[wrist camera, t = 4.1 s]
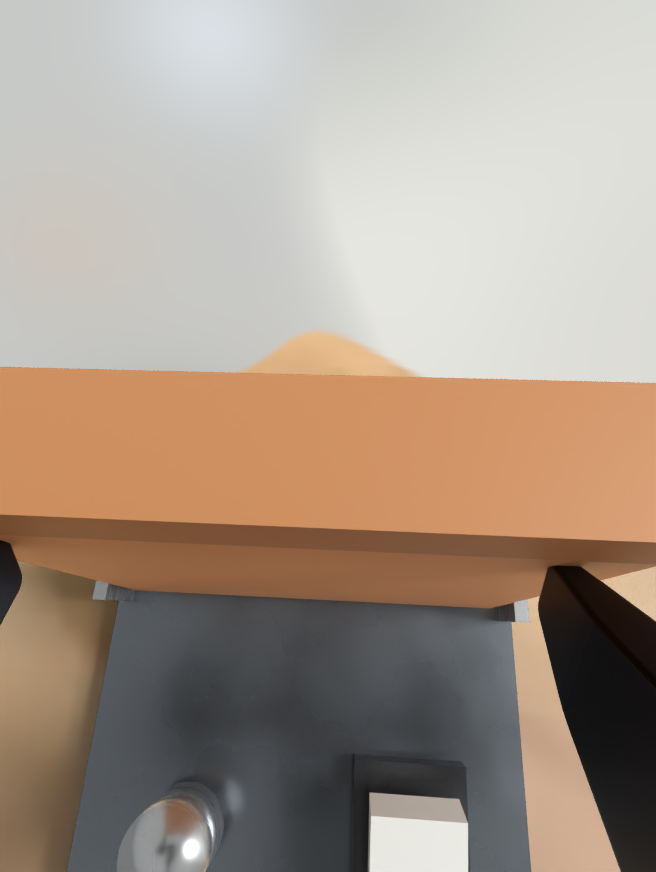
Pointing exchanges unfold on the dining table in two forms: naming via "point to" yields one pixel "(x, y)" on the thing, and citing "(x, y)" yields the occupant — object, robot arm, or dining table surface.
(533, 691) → the dining table surface
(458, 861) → the block
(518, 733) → the panel
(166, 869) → the metal button
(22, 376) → the orange lever
